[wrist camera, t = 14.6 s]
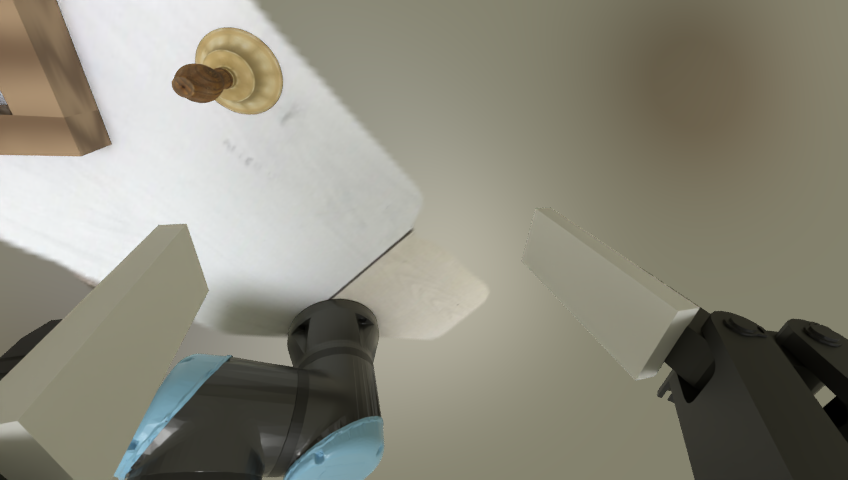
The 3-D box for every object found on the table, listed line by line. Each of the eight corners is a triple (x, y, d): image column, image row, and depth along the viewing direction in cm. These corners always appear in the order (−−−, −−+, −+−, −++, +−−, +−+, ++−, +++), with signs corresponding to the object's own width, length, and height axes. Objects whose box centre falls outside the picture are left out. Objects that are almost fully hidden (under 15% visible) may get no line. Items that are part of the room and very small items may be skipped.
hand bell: (277, 124, 37) (248, 160, 24) (194, 100, 34) (108, 127, 21) (288, 47, 34) (262, 40, 20) (197, 12, 31) (97, -22, 17)
